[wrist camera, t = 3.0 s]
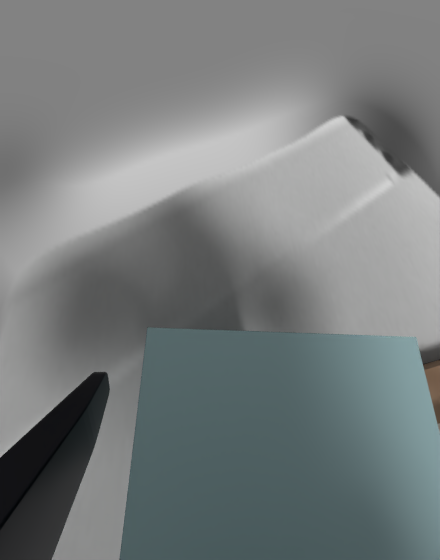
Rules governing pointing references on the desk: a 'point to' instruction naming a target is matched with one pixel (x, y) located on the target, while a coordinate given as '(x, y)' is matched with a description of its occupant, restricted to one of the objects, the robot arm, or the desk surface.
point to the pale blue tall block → (282, 449)
